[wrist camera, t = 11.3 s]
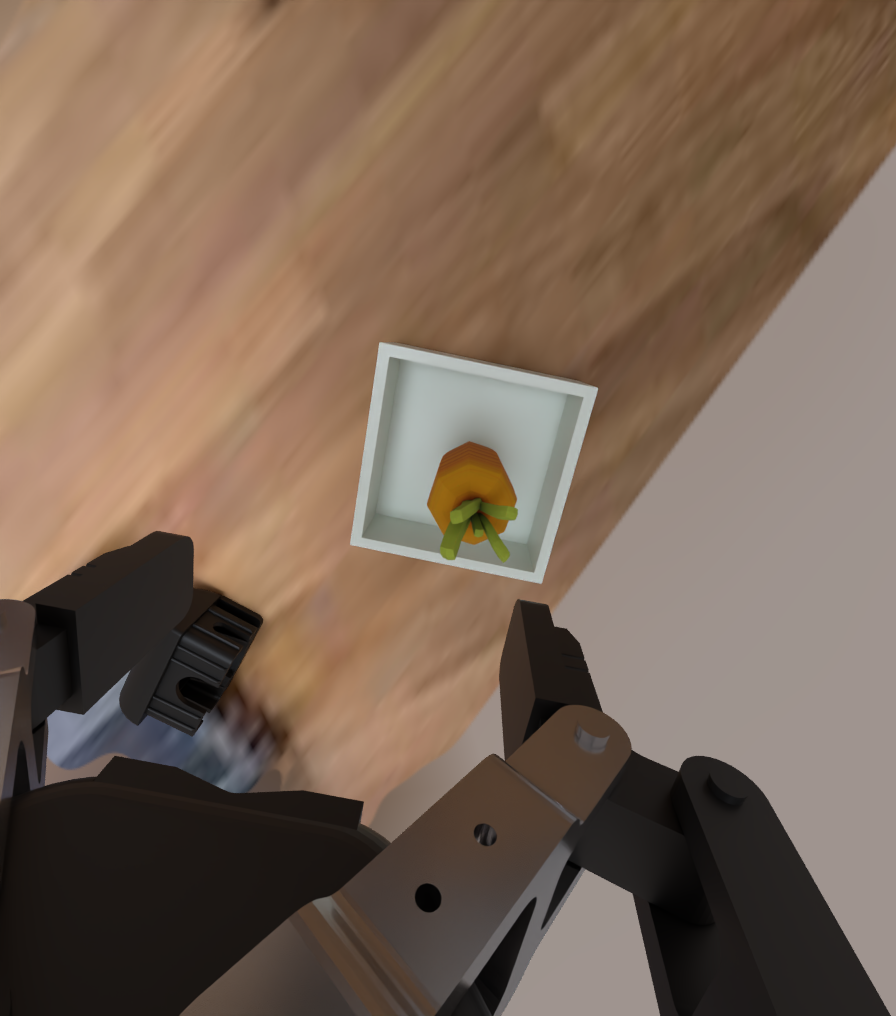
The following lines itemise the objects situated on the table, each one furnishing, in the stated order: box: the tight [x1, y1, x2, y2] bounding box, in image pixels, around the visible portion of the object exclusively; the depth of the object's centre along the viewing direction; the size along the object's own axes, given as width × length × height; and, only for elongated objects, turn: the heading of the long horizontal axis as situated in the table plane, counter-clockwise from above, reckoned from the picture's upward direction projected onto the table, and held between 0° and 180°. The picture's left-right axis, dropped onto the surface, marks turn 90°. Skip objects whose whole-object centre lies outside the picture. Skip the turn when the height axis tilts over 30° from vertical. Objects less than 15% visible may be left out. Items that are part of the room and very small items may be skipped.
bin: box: [350, 342, 598, 584], centre depth 35 cm, size 13×13×6 cm
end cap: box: [119, 589, 263, 736], centre depth 41 cm, size 10×7×7 cm
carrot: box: [427, 441, 518, 563], centre depth 30 cm, size 5×5×15 cm
